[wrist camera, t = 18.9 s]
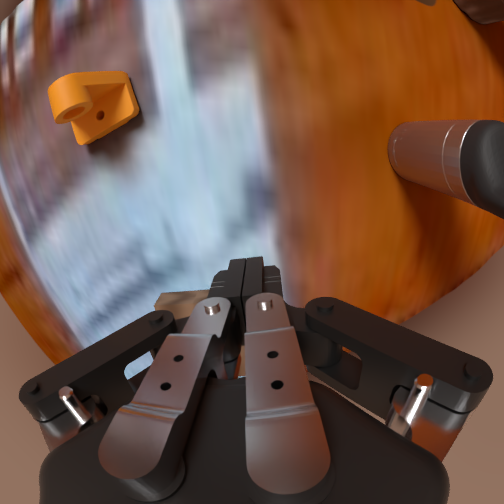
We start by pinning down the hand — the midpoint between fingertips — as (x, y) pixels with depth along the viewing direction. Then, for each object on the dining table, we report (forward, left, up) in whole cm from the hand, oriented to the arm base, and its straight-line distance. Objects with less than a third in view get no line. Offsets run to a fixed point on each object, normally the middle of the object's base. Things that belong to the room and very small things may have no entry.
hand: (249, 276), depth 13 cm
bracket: (+21, -16, -27) cm, 38 cm away
